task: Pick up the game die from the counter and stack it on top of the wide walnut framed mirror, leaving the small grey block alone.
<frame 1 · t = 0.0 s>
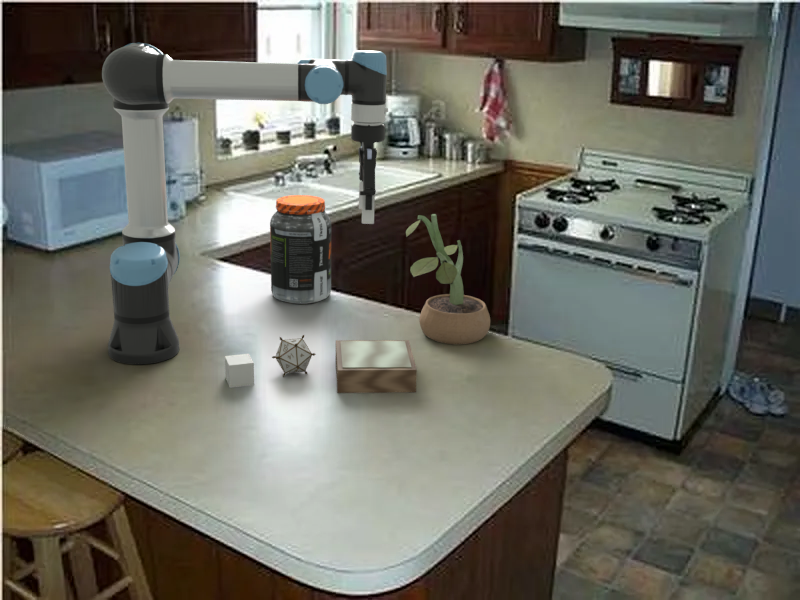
hand: (366, 216, 208), 28 cm above the worktop, fingers open, 13 cm apart
supplement tub: (301, 296, 239), on the worktop
game die: (293, 374, 192), on the worktop
walnut framed mirror: (374, 376, 191), on the worktop
potted plant: (442, 335, 216), on the worktop
grey block: (239, 381, 187), on the worktop
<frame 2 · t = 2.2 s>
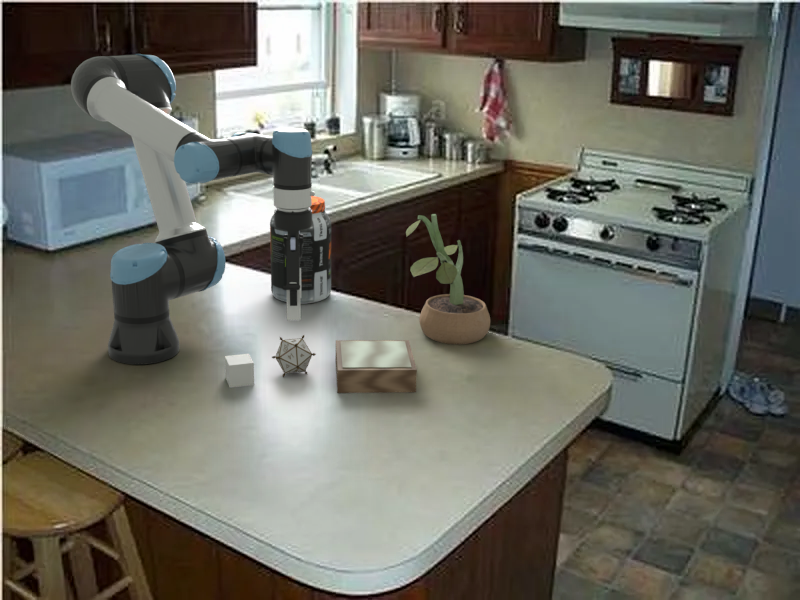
hand: (294, 308, 186), 15 cm above the worktop, fingers open, 13 cm apart
nothing on the worktop moved.
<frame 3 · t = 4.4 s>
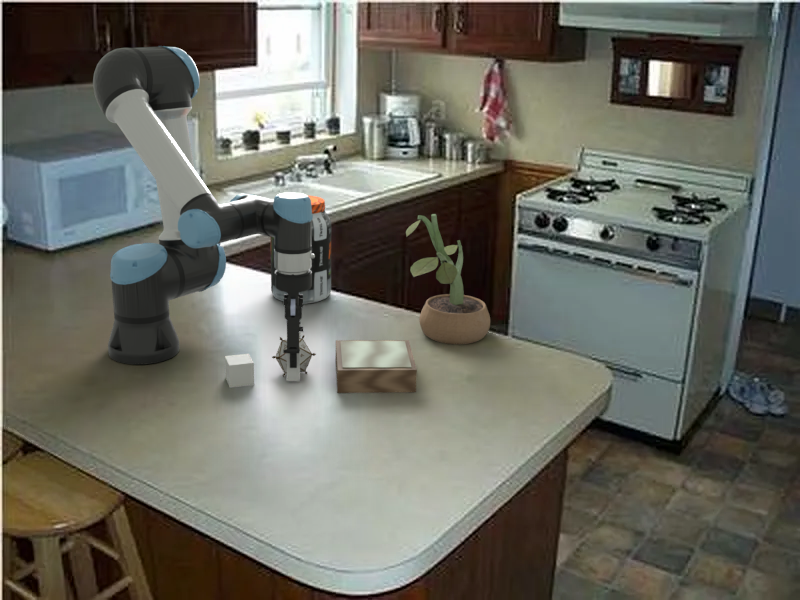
hand: (293, 370, 191), 1 cm above the worktop, fingers closed on game die, 9 cm apart
game die: (293, 374, 191), on the worktop, touching gripper
everything else where it was.
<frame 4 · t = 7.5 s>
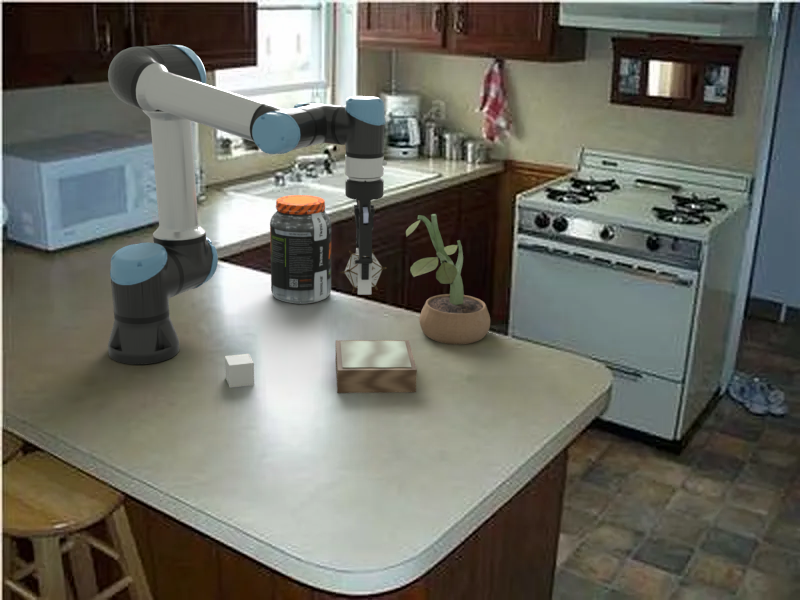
hand: (363, 286, 184), 20 cm above the worktop, fingers closed on game die, 9 cm apart
game die: (363, 289, 184), point 19 cm above the worktop, touching gripper
everything else where it was.
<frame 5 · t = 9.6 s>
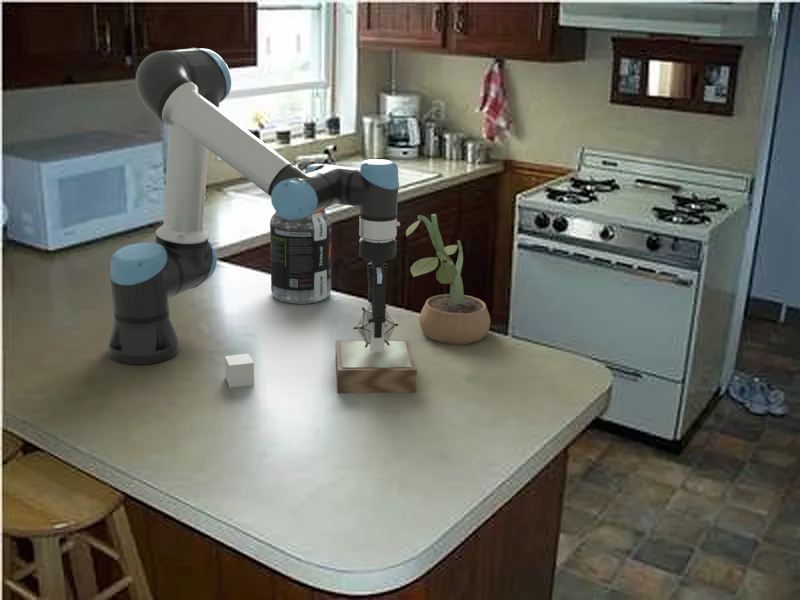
hand: (375, 341, 189), 8 cm above the worktop, fingers closed on game die, 9 cm apart
game die: (375, 345, 189), point 7 cm above the worktop, touching gripper
everything else where it was.
when the fingers open (7 cm above the worktop, at t = 11.1 s): game die drops 1 cm, resting on walnut framed mirror.
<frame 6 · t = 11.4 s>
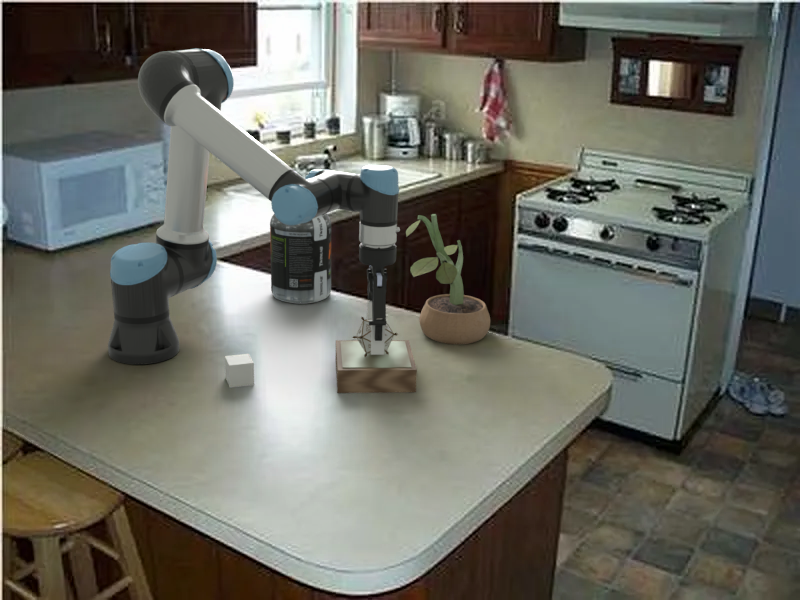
hand: (375, 341, 189), 8 cm above the worktop, fingers open, 13 cm apart
game die: (374, 354, 190), point 5 cm above the worktop, touching walnut framed mirror
everything else where it was.
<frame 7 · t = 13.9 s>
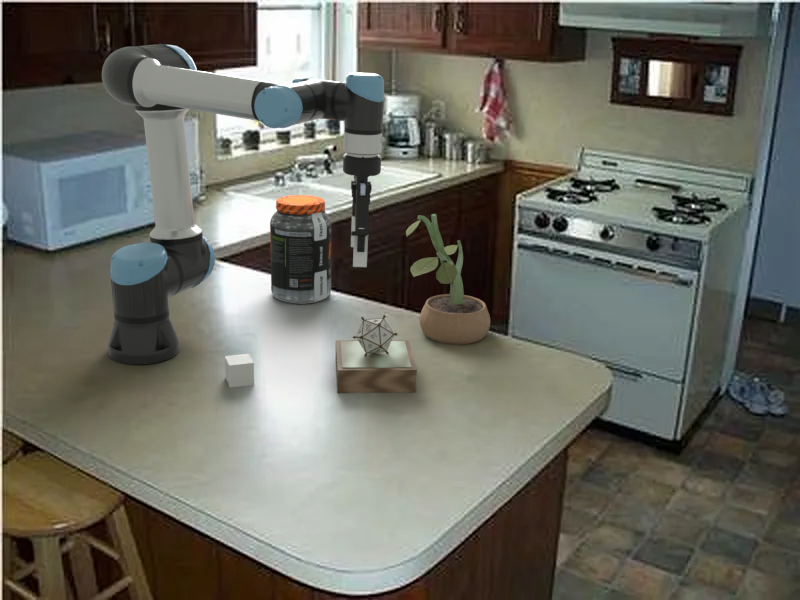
hand: (358, 256, 186), 25 cm above the worktop, fingers open, 13 cm apart
nothing on the worktop moved.
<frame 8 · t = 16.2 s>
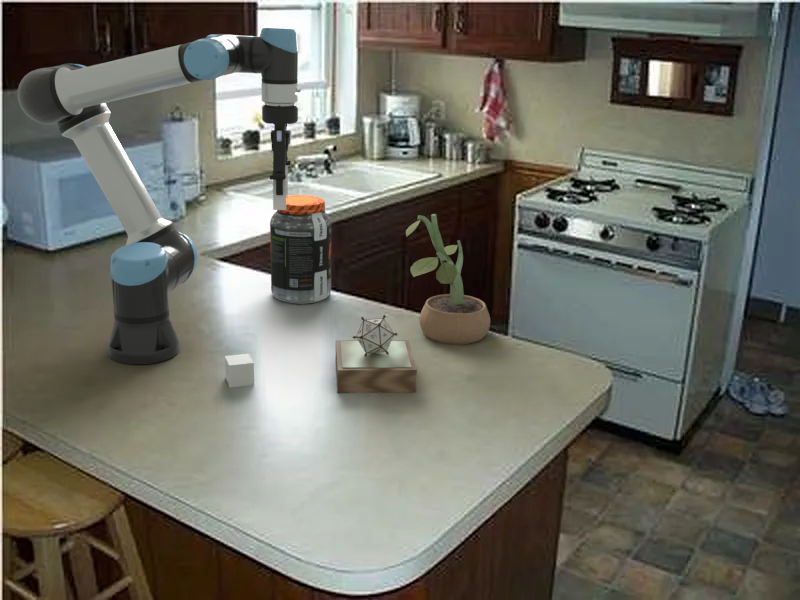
hand: (280, 202, 197), 33 cm above the worktop, fingers open, 13 cm apart
nothing on the worktop moved.
at the end: game die inside the target area on the walnut framed mirror (0.2 cm from its centre), point 5.0 cm above the walnut framed mirror's base; game die touching walnut framed mirror; the gripper is holding nothing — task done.
